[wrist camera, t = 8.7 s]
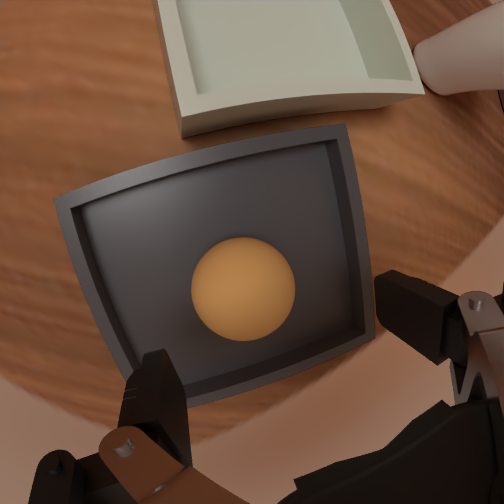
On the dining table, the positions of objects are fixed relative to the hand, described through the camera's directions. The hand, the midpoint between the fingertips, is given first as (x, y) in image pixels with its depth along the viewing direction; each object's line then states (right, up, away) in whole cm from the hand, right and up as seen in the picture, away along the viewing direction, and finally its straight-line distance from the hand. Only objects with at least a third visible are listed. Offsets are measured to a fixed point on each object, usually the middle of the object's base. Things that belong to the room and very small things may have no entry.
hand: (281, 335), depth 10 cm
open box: (0, +18, +5) cm, 18 cm away
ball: (-2, +2, +7) cm, 7 cm away
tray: (-2, +2, +7) cm, 8 cm away
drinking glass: (+15, +19, +8) cm, 25 cm away
